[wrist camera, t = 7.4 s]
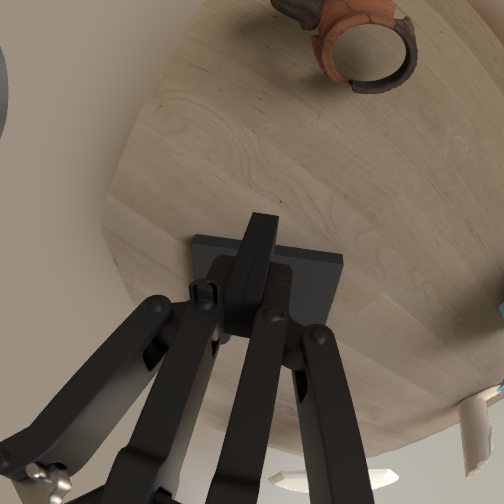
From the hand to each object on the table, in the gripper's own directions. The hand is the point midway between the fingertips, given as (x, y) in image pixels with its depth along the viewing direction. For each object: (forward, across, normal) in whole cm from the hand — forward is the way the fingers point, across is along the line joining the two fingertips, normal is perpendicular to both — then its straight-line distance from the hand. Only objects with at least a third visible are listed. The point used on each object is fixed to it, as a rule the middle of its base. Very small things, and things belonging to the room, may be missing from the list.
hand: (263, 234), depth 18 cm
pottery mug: (+13, +4, +14) cm, 20 cm away
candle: (+13, +54, -42) cm, 70 cm away
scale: (+13, 0, -17) cm, 22 cm away
